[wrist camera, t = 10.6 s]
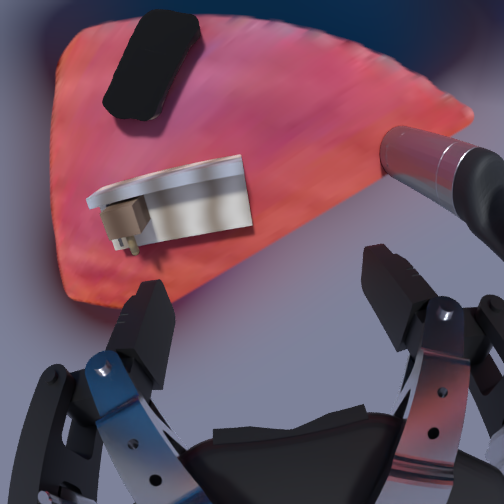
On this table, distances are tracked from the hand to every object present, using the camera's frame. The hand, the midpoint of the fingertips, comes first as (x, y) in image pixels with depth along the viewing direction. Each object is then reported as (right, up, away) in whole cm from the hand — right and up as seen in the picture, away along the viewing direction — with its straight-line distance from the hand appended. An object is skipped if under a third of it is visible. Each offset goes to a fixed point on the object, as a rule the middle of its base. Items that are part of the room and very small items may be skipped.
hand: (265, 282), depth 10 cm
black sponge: (-14, +27, +19) cm, 36 cm away
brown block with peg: (-18, +6, +27) cm, 33 cm away
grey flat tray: (-12, +9, +29) cm, 32 cm away
